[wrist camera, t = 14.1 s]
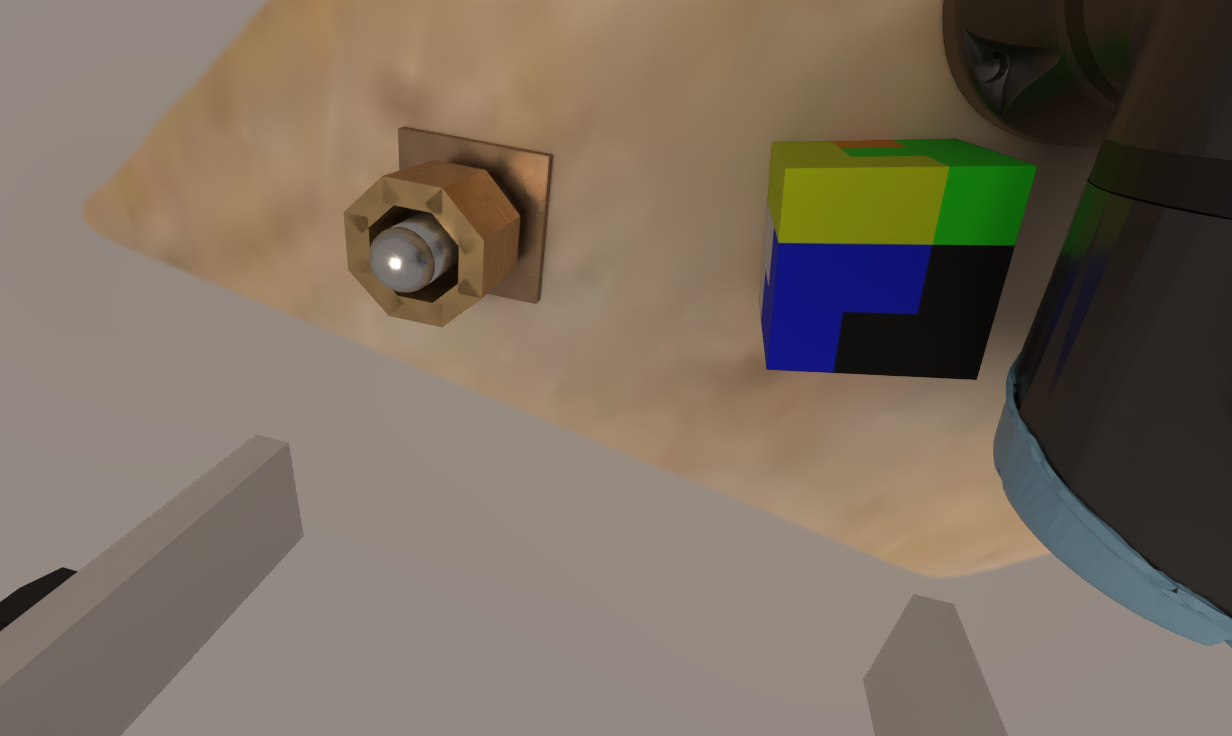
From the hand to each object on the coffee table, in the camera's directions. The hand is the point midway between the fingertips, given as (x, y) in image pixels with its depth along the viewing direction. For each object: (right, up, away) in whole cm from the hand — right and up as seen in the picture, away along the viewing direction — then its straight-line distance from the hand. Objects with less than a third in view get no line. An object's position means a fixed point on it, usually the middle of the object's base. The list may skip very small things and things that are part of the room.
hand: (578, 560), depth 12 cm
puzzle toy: (+15, +13, +24) cm, 31 cm away
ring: (-9, +13, +25) cm, 30 cm away
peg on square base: (-9, +14, +27) cm, 32 cm away
